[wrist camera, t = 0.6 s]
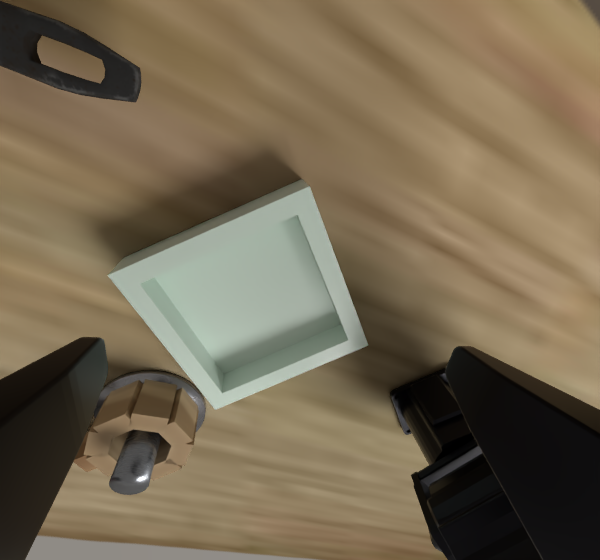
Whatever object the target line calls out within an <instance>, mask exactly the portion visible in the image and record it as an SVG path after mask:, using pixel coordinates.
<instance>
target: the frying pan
mask: <svg viewBox="0 0 600 560" xmlns="http://www.w3.org/2000/svg"><path fill="white" fill-rule="evenodd" d="M42 35H43V36H46V37H48V38H51V39H54V40H57V41H59V42H62V43H65V44H67V45H70V46H72V47H75V48H77V49H79V50H82V51H84V52H87V53H89V54H91V55H93V56H95V57H97V58H100V59H102V61H103V64H104V67H105V78H104V79H103V81H102V82H101V84H99V83H96V82H92V81H89V80H85V79H82V78H79V77H76V76H73V75H70V74H67V73H64V72H62V71H59V70H56V69H54V68H51V67H49V66H46V65H43V64H41V61H40V59H39V56H38V54H37V43H38V41H39V39H40V38H41V36H42ZM0 66H2V67H5V68H8V69H10V70H13V71H15V72H18V73H20V74H23V75H25V76H28V77H30V78H33V79H35V80H38V81H40V82H43V83H45V84H48V85H50V86H53V87H55V88H57V89H61V90H64V91H68V92H72V93H75V94H79V95H84V96H91V97H97V98H103V99H112V100H120V101H129V102H136V101H137V99H138V96H139V93H140V89H141V72H140V68H139V67H137V66H136V65H134V64H133V63H131V62H130V61H128V60H127V59H125V58H124V57H122V56H121V55H119V54H117V53H116V52H114V51H113V50H111V49H110V48H108V47H107V46H105V45H103V44H102V43H100V42H98V41H97V40H95V39H94V38H92V37H90V36H89V35H87V34H85V33H84V32H81V31H79V30H77V29H75V28H73V27H71V26H69V25H67V24H65V23H63V22H61V21H58V20H55V19H52V18H49V17H46V16H43V15H40V14H37V13H34V12H31V11H28V10H25V9H23V8H20V7H17V6H14V5H11V4H8V3H5V2H2V1H0Z"/></svg>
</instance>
